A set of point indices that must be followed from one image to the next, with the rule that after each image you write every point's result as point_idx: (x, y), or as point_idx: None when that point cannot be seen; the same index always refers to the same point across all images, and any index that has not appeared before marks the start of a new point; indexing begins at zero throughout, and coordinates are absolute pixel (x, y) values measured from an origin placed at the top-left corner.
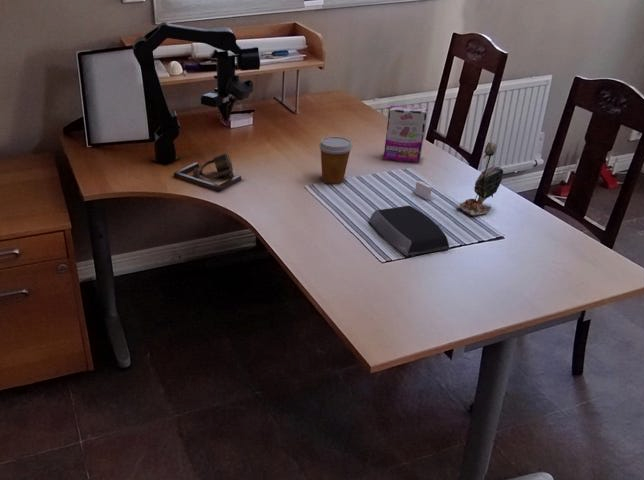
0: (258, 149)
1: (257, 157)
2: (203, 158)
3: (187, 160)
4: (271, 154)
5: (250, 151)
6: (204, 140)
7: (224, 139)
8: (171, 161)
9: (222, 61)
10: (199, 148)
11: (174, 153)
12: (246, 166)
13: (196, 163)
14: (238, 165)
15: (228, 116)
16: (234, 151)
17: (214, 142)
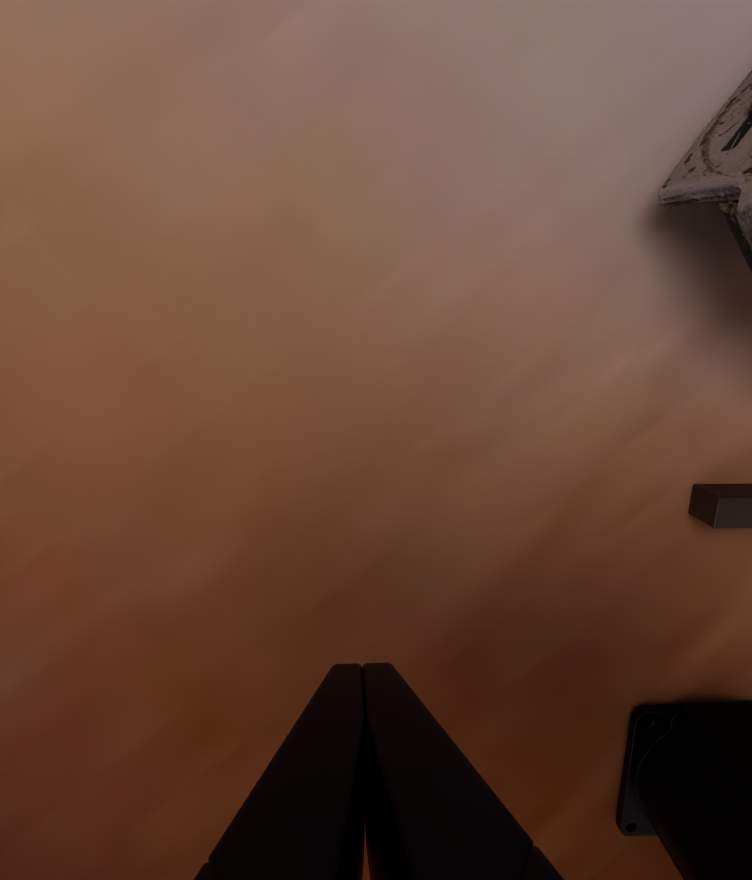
0: (23, 317)
1: (197, 190)
2: (512, 578)
3: (613, 645)
4: (30, 109)
5: (120, 351)
6: (196, 811)
7: (62, 714)
8: (738, 703)
9: None
10: None
11: (742, 747)
12: (453, 137)
13: (735, 506)
14: (475, 223)
15: (364, 722)
16: (223, 473)
17: (175, 730)
